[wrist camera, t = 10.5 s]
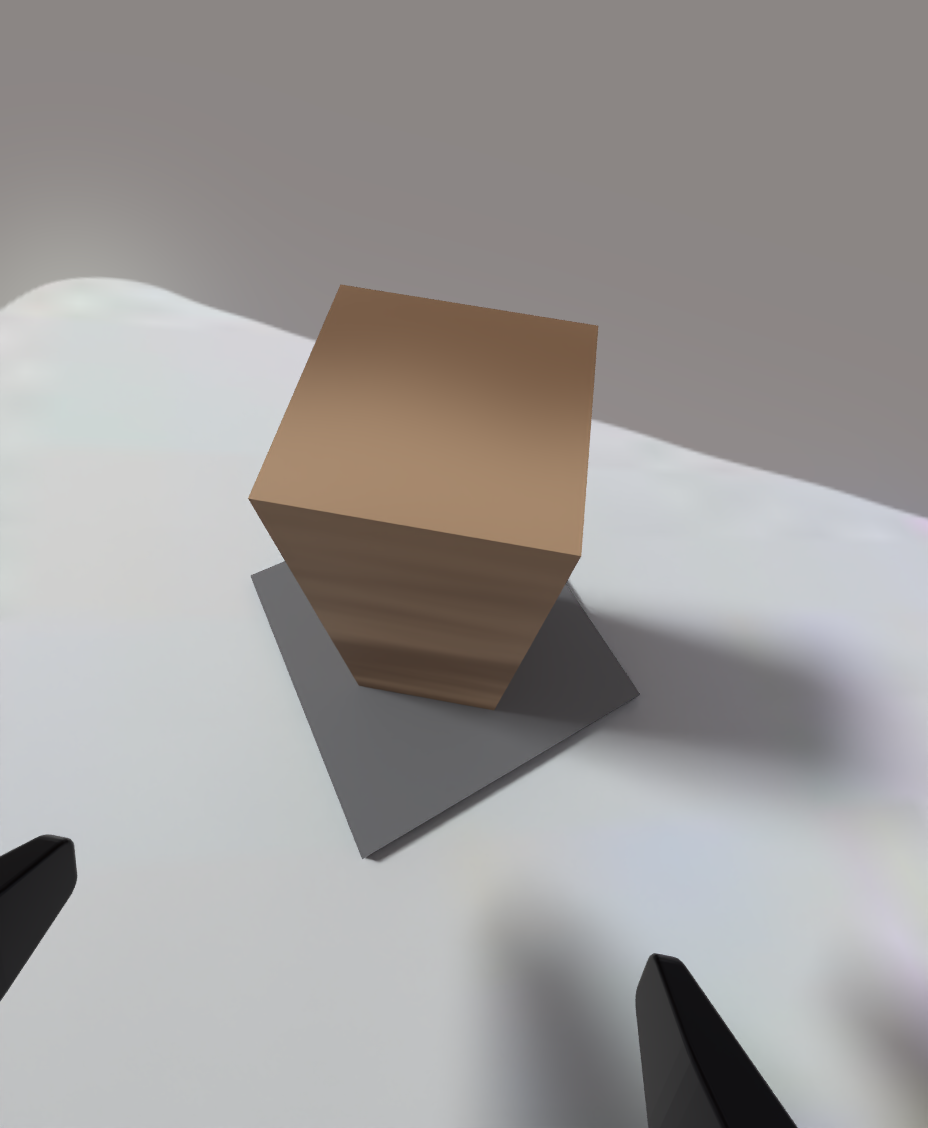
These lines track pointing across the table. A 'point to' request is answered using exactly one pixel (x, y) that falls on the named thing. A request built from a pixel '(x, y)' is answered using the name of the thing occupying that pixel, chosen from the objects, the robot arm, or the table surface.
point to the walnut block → (433, 486)
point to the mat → (435, 715)
